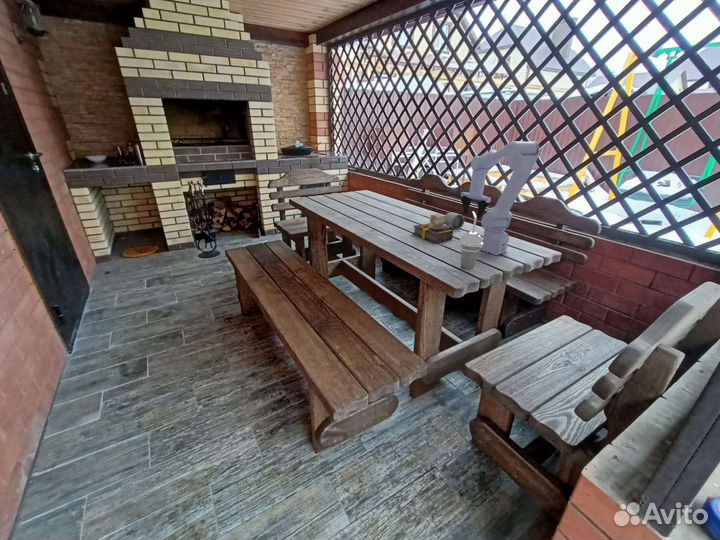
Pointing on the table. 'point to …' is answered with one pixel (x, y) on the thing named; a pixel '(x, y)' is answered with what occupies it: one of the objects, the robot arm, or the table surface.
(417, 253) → the table surface
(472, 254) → the cup with straw
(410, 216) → the table surface
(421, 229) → the decorative book
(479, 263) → the table surface
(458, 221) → the ceramic mug
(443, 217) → the birch block
